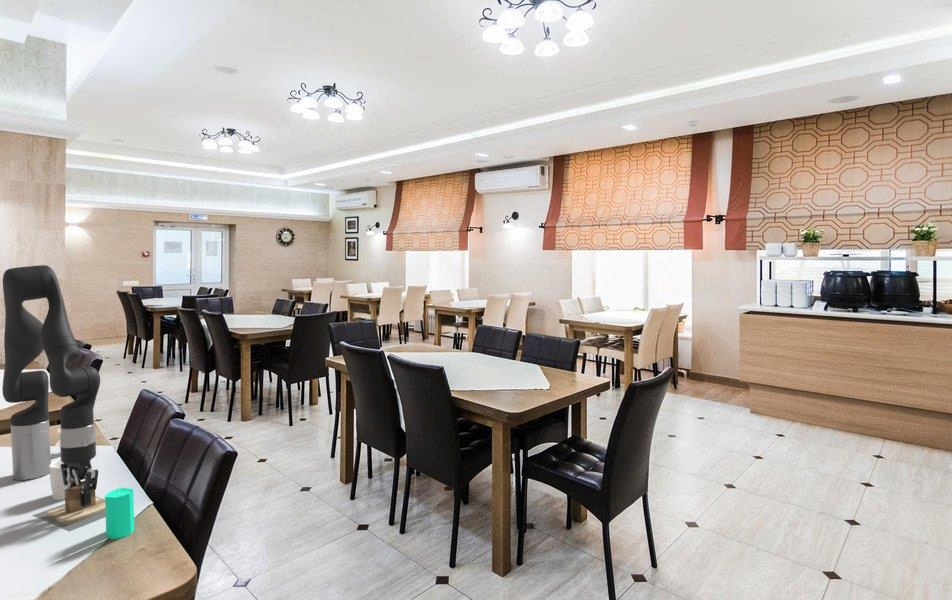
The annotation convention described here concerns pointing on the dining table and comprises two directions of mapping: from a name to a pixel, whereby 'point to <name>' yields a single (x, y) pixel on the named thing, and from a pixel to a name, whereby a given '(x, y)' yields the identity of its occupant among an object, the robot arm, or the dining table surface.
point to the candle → (119, 513)
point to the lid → (76, 507)
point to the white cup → (57, 481)
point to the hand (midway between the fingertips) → (80, 503)
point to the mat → (73, 526)
